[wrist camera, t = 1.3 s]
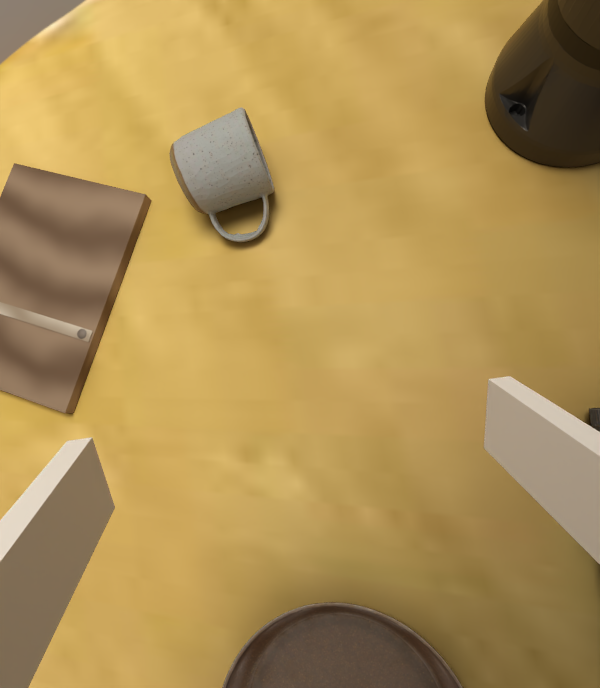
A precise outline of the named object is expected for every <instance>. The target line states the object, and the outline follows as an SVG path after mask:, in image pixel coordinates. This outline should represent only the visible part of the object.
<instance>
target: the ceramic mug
mask: <svg viewBox="0 0 600 688" xmlns="http://www.w3.org/2000/svg"><path fill="white" fill-rule="evenodd" d="M170 160H171V165H172V168H173V170H174V173H175V176H176V178H177V181H178V183H179V185H180V187H181V189H182V191H183V192H184V194H185V196H186V198H187V199H188V201H189V202H190V203H191V205H192V206H193V207H194V208H195V209H196V210H197V211H199V212H201V213H204V214H209V216H210V219H211V221H212V224H213V225H214V227H215V229H216V230H217V231H218V232H219V233H220V234H221V235H222V236H223V237H225V238H226V239H228V240H231V241H235V242H246V241H251V240H253V239H255V238H257V237H258V236H259V235H261V234H262V233H263V231H264V230H265V228H266V226H267V223H268V220H269V202H268V195H270V194H272V193H273V192H274V186H273V183H272V180H271V176H270V173H269V170H268V167H267V164H266V161H265V158H264V155H263V153H262V150H261V147H260V144H259V142H258V139H257V137H256V134H255V131H254V129H253V127H252V124H251V122H250V120H249V117H248V115H247V113H246V111H245V109H243V108H238V109H236V110H235V111H233V112H231V113H229V114H227V115H225V116H223V117H221V118H218V119H216V120H214V121H212V122H210V123H208V124H206V125H204V126H202V127H200V128H198V129H196V130H194V131H192V132H190V133H188V134H186V135H184V136H182V137H181V138H180V139H178V140H177V141H176V142H174V143H173V144H172V146H171V149H170ZM258 198H263V203H264V205H263V206H264V213H263V219H262V221H261V224H260V225H259V228H258V230H257V231H255V232H252V233H248V234H239V233H237V234H235V235H233V234H228V233H227V232H225V231H224V230H223V228H222V227H221V225H220V224H219V222H218V220H217V218H216V213H217V212H220V211H223V210H226V209H228V208H231V207H233V206H236V205H239V204H242V203H246V202H249V201H252V200H256V199H258Z"/></svg>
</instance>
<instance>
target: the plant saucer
mask: <svg viewBox="0 0 600 688" xmlns="http://www.w3.org/2000/svg"><path fill="white" fill-rule="evenodd" d="M222 688H463V687H462V686H461V684H460V682H459V681H458V679H457V677H456V676H455V674H454V673H453V671H452V670H451V668H450V667H449V666H448V664H447V663H446V662H445V661H444V659H443V658H442V657H441V656H440V655H439V654H438V653H437V651H436V650H435V649H434V648H433V647H432V646H431V645H429V644H428V643H427V642H426V641H425V640H424V639H423V638H422V637H421V636H419V635H418V634H417V633H416V632H414V631H413V630H411V629H410V628H409V627H407V626H406V625H404V624H402V623H401V622H399V621H397V620H396V619H394V618H392V617H390V616H387V615H385V614H383V613H381V612H378V611H376V610H373V609H370V608H366V607H363V606H358V605H354V604H348V603H334V602H329V603H317V604H311V605H306V606H302V607H299V608H296V609H293V610H291V611H288V612H286V613H284V614H282V615H280V616H278V617H276V618H275V619H273V620H272V621H270V622H269V623H267V624H266V625H265V626H263V627H262V628H261V629H260V630H258V631H257V632H256V633H255V634H254V635H253V636H252V637H251V638H250V639H249V640H248V642H247V643H246V644H245V645H244V646H243V648H242V649H241V651H240V652H239V654H238V655H237V657H236V658H235V660H234V662H233V664H232V666H231V668H230V670H229V672H228V674H227V676H226V679H225V682H224V684H223V687H222Z"/></svg>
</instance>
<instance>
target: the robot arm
mask: <svg viewBox="0 0 600 688" xmlns="http://www.w3.org/2000/svg"><path fill="white" fill-rule="evenodd" d="M485 103H486V110H487V114H488V118H489V120H490V123H491V125H492V127H493V128H494V130H495V132H496V133H497V135H498V136H499V137H500V138H501V139H502V141H503V142H504V143H505V144H506V145H508V146H509V147H510V148H511V149H512V150H514V151H515V152H517V153H518V154H520V155H522V156H524V157H526V158H528V159H530V160H532V161H535V162H538V163H541V164H545V165H550V166H557V167H579V166H586V165H591V164H595V163H598V162H600V0H543V1H542V2H541V4H540V5H539V6H538V7H537V8H536V9H535V10H534V12H533V13H532V14H531V15H530V16H529V17H528V19H527V20H526V21H525V22H524V23H523V24H522V25H521V27H520V28H519V29H518V30H517V31H516V32H515V33H514V35H513V36H512V37H511V38H510V39H509V41H508V42H507V43H506V45H505V46H504V48H503V49H502V51H501V53H500V55H499V56H498V58H497V61H496V63H495V65H494V68H493V70H492V72H491V75H490V77H489V80H488V83H487V87H486V95H485ZM484 449H485V450H486V451H487V452H488V453H489V454H490V455H491V456H492V457H493V458H494V459H495V460H496V461H497V462H498V463H499V464H500V465H501V466H502V467H503V468H504V469H505V470H506V471H507V472H508V473H509V474H510V475H511V476H512V477H513V478H514V479H515V480H516V481H517V482H518V483H519V484H520V485H521V486H522V487H523V488H524V489H525V490H526V491H527V492H528V493H529V494H530V495H531V496H532V497H533V498H534V499H535V500H536V501H537V502H538V503H539V504H540V505H541V506H542V507H543V508H544V509H545V510H546V511H547V512H548V513H549V514H550V515H551V516H552V517H553V518H554V519H555V520H556V521H557V522H558V523H559V524H560V525H561V526H562V527H563V528H564V529H565V530H566V531H567V532H568V533H569V534H570V535H571V536H572V537H573V538H574V539H575V540H576V541H577V542H578V543H579V544H580V545H581V546H582V547H583V548H584V549H585V550H586V551H587V552H588V553H589V554H590V555H591V556H592V557H593V558H594V559H595V560H596V561H597V562H598V563H599V564H600V432H599V431H597V430H596V429H594V428H592V427H591V426H589V425H587V424H586V423H584V422H583V421H581V420H579V419H578V418H576V417H575V416H573V415H571V414H570V413H568V412H567V411H565V410H563V409H562V408H560V407H559V406H557V405H555V404H554V403H552V402H551V401H549V400H547V399H546V398H544V397H542V396H541V395H539V394H538V393H536V392H534V391H533V390H531V389H530V388H528V387H526V386H525V385H523V384H522V383H520V382H518V381H517V380H515V379H514V378H512V377H510V376H507V377H500V378H494V379H488V394H487V409H486V424H485V439H484ZM114 508H115V506H114V503H113V500H112V497H111V494H110V491H109V488H108V484H107V481H106V478H105V475H104V472H103V469H102V466H101V463H100V460H99V457H98V454H97V451H96V448H95V445H94V442H93V439H92V437H91V438H85V439H78V440H71V441H67V442H66V443H65V444H64V445H63V446H62V448H61V449H60V450H59V451H58V452H57V454H56V455H55V456H54V457H53V458H52V460H51V461H50V462H49V463H48V464H47V466H46V467H45V468H44V469H43V470H42V471H41V473H40V474H39V475H38V476H37V477H36V479H35V480H34V481H33V482H32V483H31V485H30V486H29V487H28V488H27V489H26V491H25V492H24V493H23V494H22V495H21V497H20V498H19V499H18V500H17V501H16V502H15V504H14V505H13V506H12V507H11V508H10V510H9V511H8V512H7V513H6V514H5V516H4V517H3V518H2V519H1V520H0V688H28V687H29V685H30V683H31V681H32V679H33V676H34V674H35V672H36V670H37V668H38V666H39V664H40V662H41V660H42V658H43V656H44V654H45V652H46V649H47V647H48V645H49V643H50V641H51V639H52V637H53V635H54V633H55V631H56V629H57V627H58V625H59V622H60V620H61V618H62V616H63V614H64V612H65V610H66V608H67V606H68V604H69V602H70V600H71V598H72V595H73V593H74V591H75V589H76V587H77V585H78V583H79V581H80V579H81V577H82V575H83V573H84V571H85V568H86V566H87V564H88V562H89V560H90V558H91V556H92V554H93V552H94V550H95V548H96V546H97V544H98V542H99V539H100V537H101V535H102V533H103V531H104V529H105V527H106V525H107V523H108V521H109V519H110V517H111V515H112V512H113V510H114Z"/></svg>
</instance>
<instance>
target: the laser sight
mask: <svg viewBox="0 0 600 688" xmlns="http://www.w3.org/2000/svg"><path fill="white" fill-rule="evenodd" d="M589 413H590V421H591V425H592V426H593V428H594V429H596V430H597V431H599V432H600V408H591V409H589Z"/></svg>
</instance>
